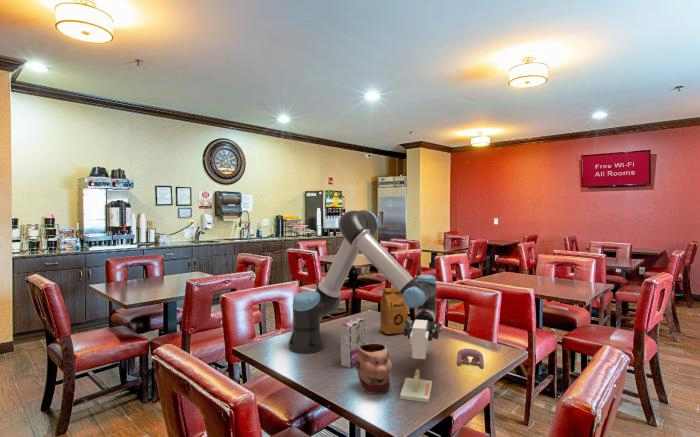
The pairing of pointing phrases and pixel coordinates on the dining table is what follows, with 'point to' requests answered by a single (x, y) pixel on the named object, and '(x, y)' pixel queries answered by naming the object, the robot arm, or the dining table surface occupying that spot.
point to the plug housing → (419, 339)
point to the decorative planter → (373, 367)
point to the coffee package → (392, 312)
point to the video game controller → (470, 353)
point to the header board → (416, 389)
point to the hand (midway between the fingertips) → (418, 341)
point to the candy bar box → (351, 340)
